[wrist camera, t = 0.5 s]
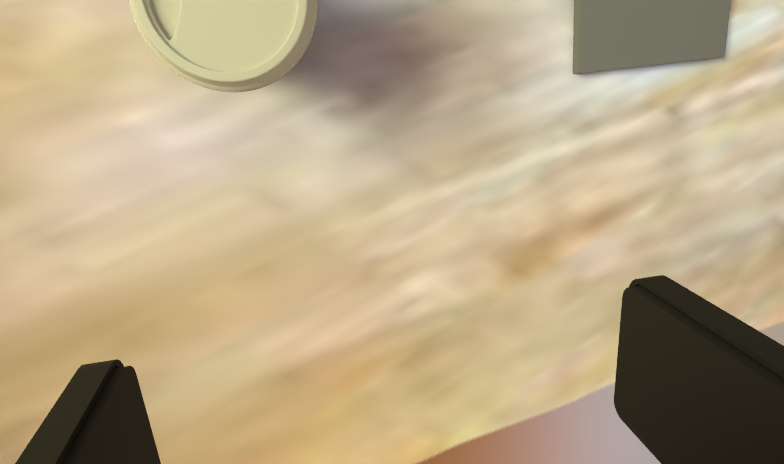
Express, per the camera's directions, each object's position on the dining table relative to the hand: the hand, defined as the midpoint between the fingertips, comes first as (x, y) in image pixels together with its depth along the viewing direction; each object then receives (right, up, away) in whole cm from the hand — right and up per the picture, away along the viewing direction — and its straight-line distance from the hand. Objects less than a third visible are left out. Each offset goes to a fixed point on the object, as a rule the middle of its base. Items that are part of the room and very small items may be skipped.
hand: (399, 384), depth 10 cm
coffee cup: (-10, +17, +24) cm, 31 cm away
